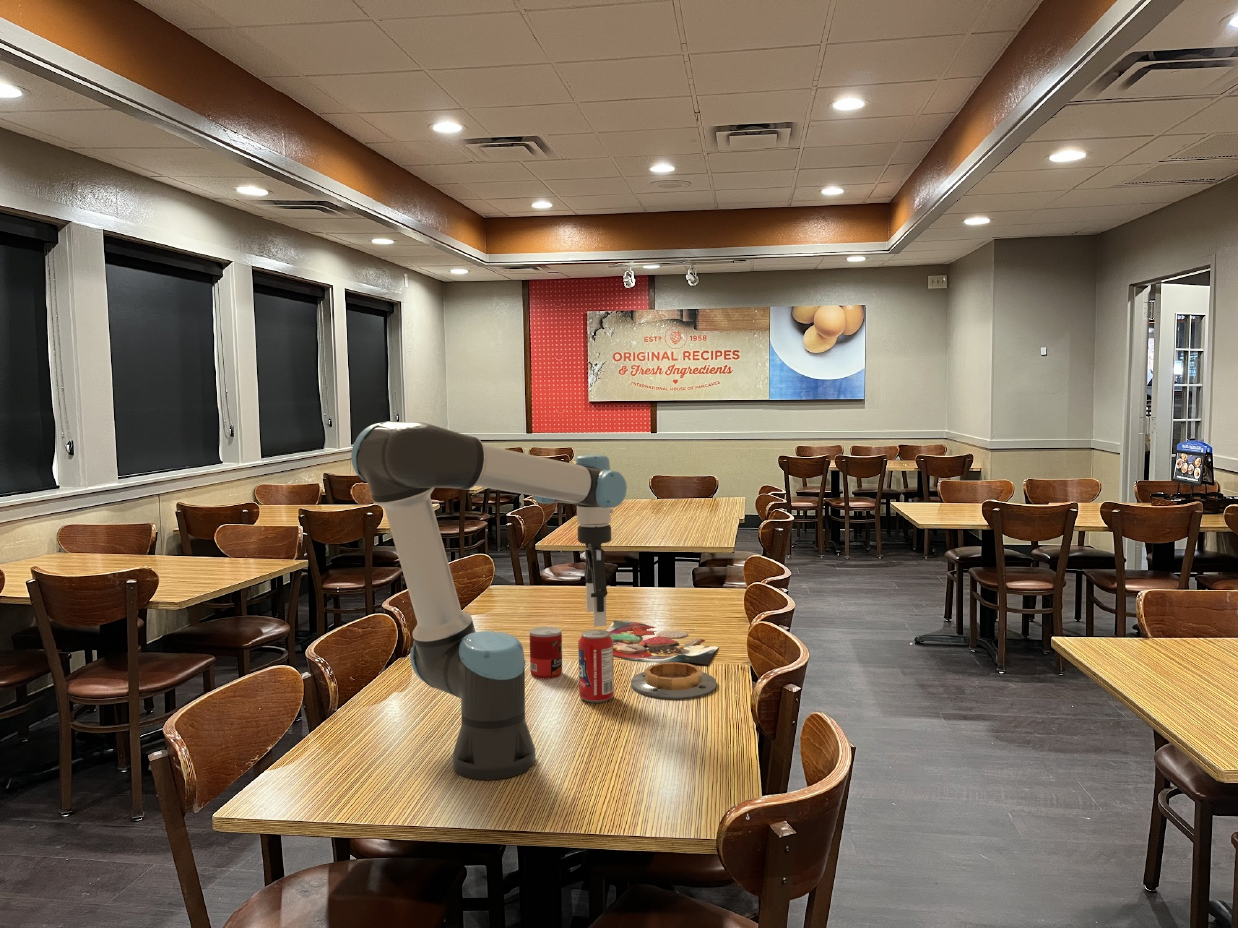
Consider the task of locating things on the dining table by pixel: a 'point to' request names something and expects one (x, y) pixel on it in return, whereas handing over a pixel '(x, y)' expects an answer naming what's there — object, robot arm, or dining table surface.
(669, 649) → the colorful printed placemat
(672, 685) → the bolted flange plate
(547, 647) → the canned food
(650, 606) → the dining table surface
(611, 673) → the soda can
